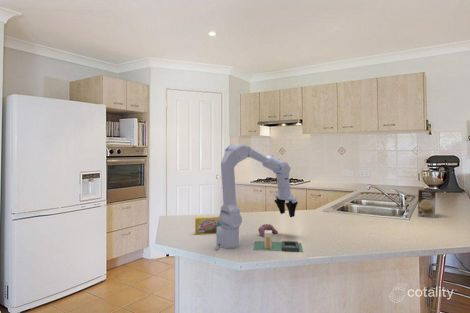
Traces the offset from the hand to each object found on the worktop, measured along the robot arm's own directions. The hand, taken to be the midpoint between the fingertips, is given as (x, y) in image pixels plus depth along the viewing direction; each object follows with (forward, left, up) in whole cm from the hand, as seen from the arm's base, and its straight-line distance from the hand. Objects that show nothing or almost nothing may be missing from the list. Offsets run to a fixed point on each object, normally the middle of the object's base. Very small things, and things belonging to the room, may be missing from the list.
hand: (287, 215), depth 146 cm
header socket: (+1, -19, -11) cm, 22 cm away
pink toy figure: (-9, 0, -11) cm, 14 cm away
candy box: (-37, +2, -11) cm, 39 cm away
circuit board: (-4, -18, -11) cm, 21 cm away
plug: (-8, -19, -10) cm, 23 cm away
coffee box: (+86, +57, -11) cm, 103 cm away
